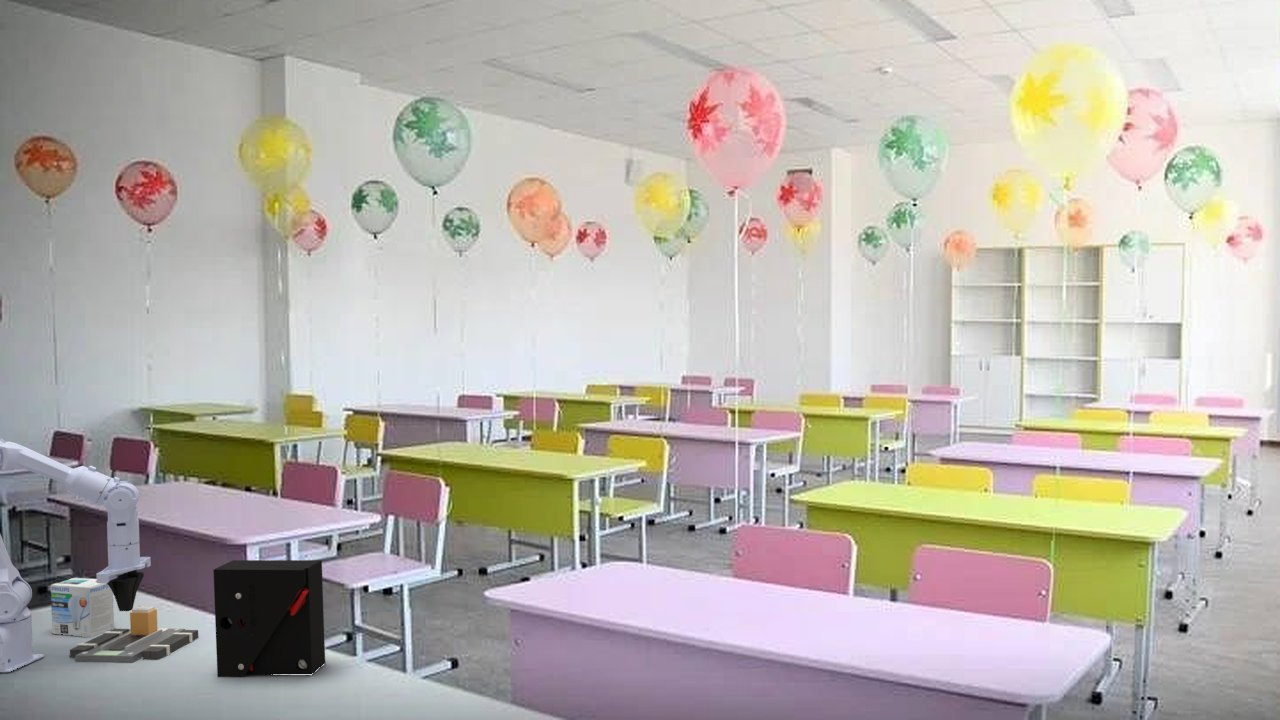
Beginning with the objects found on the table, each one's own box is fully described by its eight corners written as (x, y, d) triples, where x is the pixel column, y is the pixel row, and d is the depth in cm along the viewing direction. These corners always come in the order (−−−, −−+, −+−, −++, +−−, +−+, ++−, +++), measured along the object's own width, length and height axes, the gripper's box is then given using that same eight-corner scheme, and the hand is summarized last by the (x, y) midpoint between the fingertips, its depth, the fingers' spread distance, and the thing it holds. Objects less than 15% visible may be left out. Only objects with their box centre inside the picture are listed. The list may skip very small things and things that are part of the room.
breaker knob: (148, 634, 211) (147, 610, 211) (130, 634, 212) (129, 610, 211) (157, 630, 214) (156, 606, 214) (139, 630, 214) (138, 606, 214)
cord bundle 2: (159, 659, 201) (159, 650, 200) (141, 659, 201) (141, 650, 201) (199, 637, 214) (199, 629, 214) (182, 637, 215) (182, 628, 215)
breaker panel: (132, 662, 199) (132, 652, 199) (75, 661, 201) (75, 651, 201) (185, 634, 217) (184, 625, 217) (132, 633, 218) (132, 624, 218)
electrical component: (329, 661, 197) (326, 557, 197) (307, 679, 187) (303, 570, 187) (242, 660, 199) (238, 557, 198) (215, 678, 189) (211, 570, 188)
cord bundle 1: (86, 658, 203) (86, 649, 202) (68, 657, 203) (68, 648, 203) (130, 636, 216) (130, 627, 216) (113, 636, 217) (113, 627, 217)
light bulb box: (50, 634, 219) (48, 584, 219) (76, 625, 226) (74, 576, 225) (91, 637, 216) (88, 587, 216) (115, 628, 223) (113, 579, 222)
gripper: (119, 551, 199) (121, 620, 199) (163, 535, 213) (165, 600, 214) (85, 550, 200) (88, 620, 200) (131, 535, 214) (134, 600, 215)
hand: (125, 610), depth 207 cm, fingers closed
